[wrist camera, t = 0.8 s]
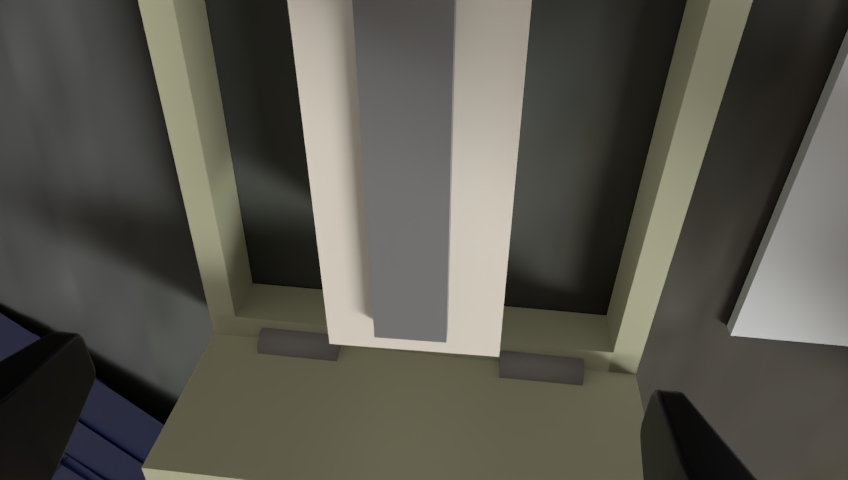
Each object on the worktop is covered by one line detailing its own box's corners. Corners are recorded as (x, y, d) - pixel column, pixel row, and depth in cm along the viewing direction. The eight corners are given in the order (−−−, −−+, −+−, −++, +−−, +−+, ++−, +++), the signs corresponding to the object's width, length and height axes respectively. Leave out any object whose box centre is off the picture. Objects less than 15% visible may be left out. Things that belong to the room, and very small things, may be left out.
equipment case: (825, -351, 14) (1116, -476, 7) (621, 358, 26) (658, 549, 19) (102, -360, 15) (-219, -476, 8) (236, 321, 27) (149, 490, 21)
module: (532, -145, 16) (543, -111, 11) (501, 237, 23) (498, 372, 18) (341, -146, 17) (262, -114, 12) (366, 229, 24) (324, 358, 18)
